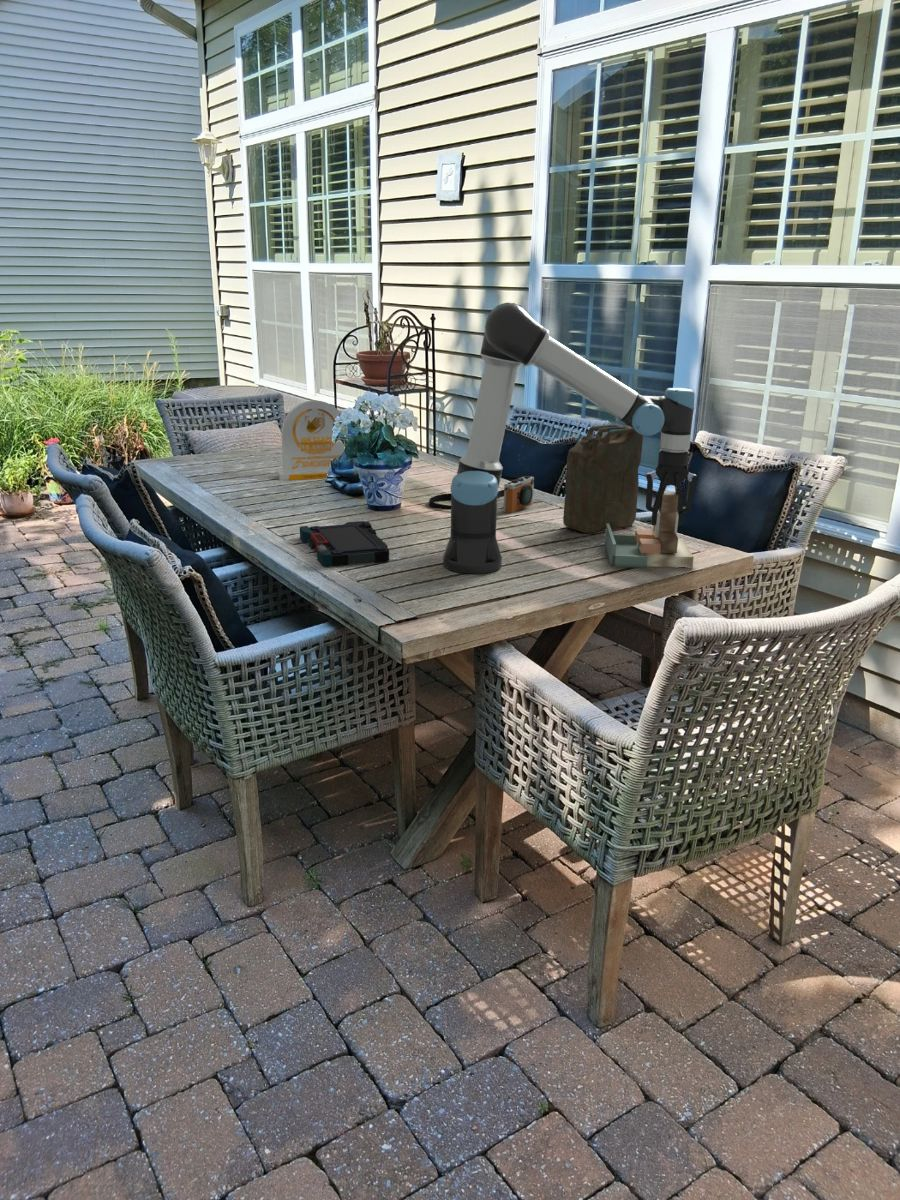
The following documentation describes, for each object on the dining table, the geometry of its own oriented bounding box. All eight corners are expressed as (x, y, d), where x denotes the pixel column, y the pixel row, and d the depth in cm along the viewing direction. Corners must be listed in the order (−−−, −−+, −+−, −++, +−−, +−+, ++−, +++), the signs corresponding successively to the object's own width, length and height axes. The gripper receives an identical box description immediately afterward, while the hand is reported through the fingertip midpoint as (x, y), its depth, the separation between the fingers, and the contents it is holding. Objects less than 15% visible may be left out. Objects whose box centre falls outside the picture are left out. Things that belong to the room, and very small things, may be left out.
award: (280, 480, 321) (276, 403, 312) (277, 475, 329) (273, 400, 319) (356, 477, 329) (355, 401, 320) (351, 472, 337) (350, 398, 328)
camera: (504, 521, 274) (505, 489, 271) (421, 507, 288) (421, 477, 285) (544, 502, 298) (546, 472, 295) (466, 490, 313) (467, 462, 309)
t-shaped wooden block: (661, 552, 231) (666, 499, 226) (652, 536, 246) (657, 486, 241) (676, 553, 231) (682, 500, 226) (667, 536, 246) (672, 486, 241)
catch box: (611, 566, 231) (613, 544, 229) (604, 544, 251) (606, 523, 249) (646, 567, 230) (648, 545, 228) (636, 545, 250) (638, 524, 248)
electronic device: (323, 570, 226) (322, 551, 224) (297, 537, 253) (296, 520, 251) (397, 562, 232) (397, 544, 231) (364, 532, 260) (364, 515, 258)
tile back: (636, 543, 241) (637, 534, 240) (634, 538, 246) (635, 529, 245) (655, 544, 241) (656, 535, 240) (652, 538, 245) (653, 530, 245)
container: (615, 518, 278) (624, 422, 268) (638, 526, 270) (647, 426, 260) (559, 527, 267) (565, 427, 257) (581, 535, 259) (588, 432, 249)
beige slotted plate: (645, 566, 232) (646, 555, 231) (637, 546, 249) (638, 536, 248) (692, 568, 231) (693, 557, 230) (681, 548, 248) (682, 538, 247)
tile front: (640, 552, 233) (641, 543, 232) (638, 547, 237) (639, 538, 236) (660, 553, 232) (661, 544, 231) (657, 548, 237) (658, 539, 236)
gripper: (705, 448, 233) (694, 534, 241) (639, 446, 234) (631, 531, 242) (710, 453, 226) (699, 542, 234) (642, 451, 227) (634, 539, 235)
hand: (665, 536), depth 238 cm, fingers closed on t-shaped wooden block, 4 cm apart
